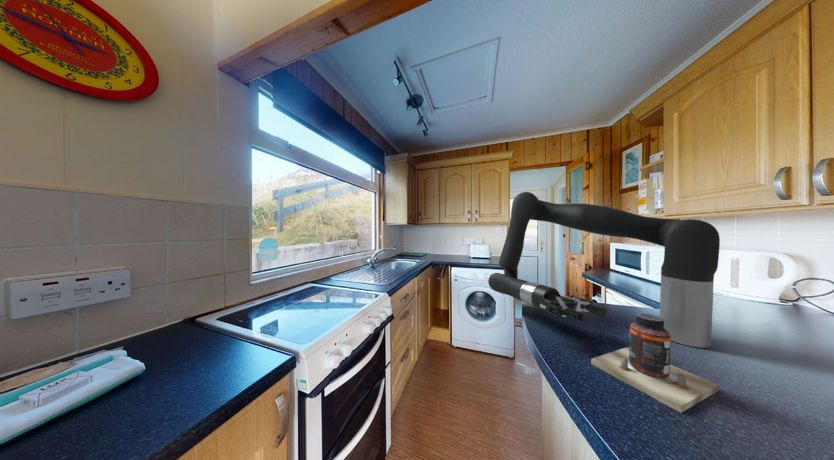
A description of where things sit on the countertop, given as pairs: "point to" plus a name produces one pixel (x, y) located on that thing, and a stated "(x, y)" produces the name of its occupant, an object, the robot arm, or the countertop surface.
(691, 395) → the pin board
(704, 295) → the robot arm
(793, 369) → the countertop surface
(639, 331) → the supplement bottle
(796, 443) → the countertop surface
